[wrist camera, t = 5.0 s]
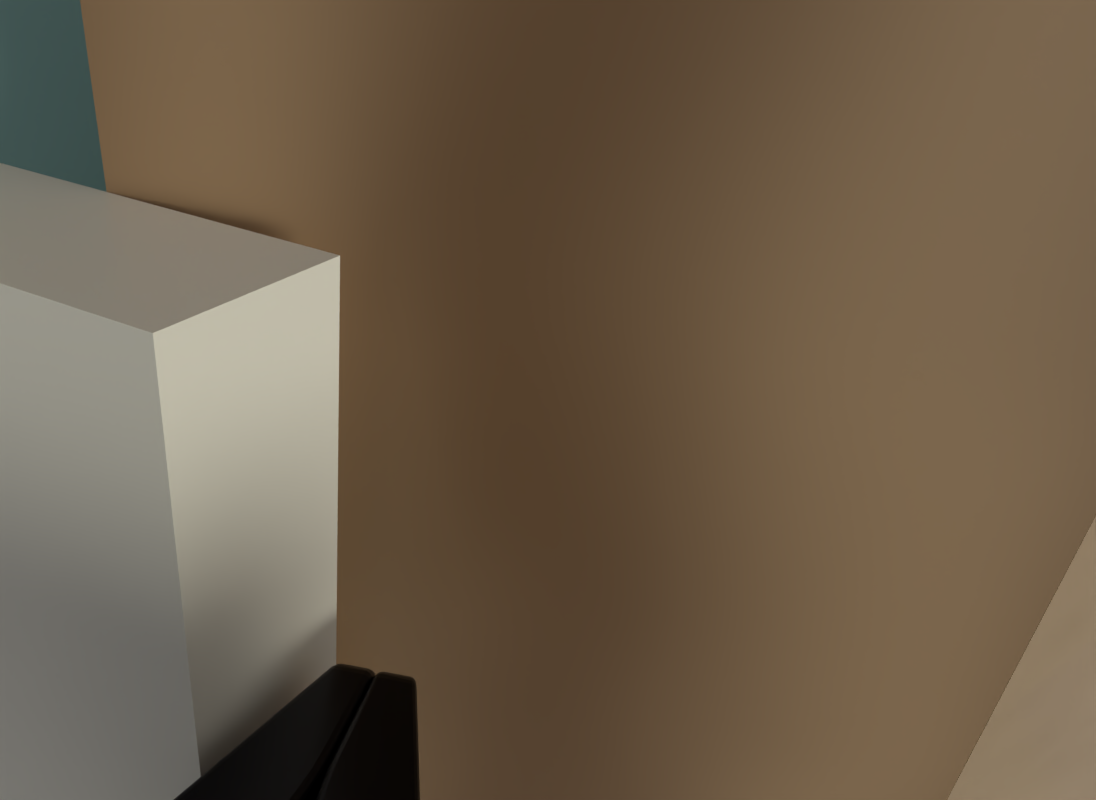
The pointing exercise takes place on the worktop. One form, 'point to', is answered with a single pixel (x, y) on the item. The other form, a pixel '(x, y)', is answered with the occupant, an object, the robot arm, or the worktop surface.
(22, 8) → the mat
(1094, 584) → the worktop surface
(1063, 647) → the worktop surface
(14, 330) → the white block
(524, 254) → the brown box
